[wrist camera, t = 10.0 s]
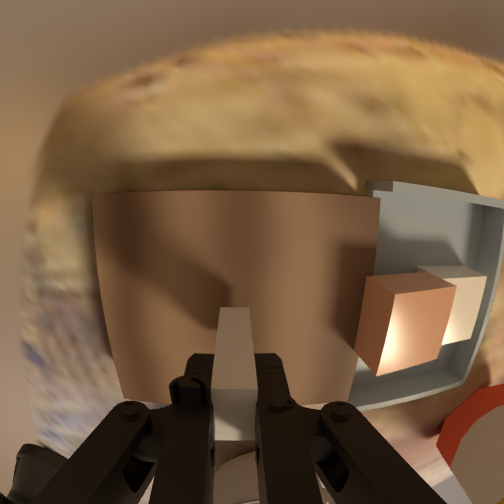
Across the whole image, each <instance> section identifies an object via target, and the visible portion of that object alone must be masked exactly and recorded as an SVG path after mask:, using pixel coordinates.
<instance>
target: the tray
mask: <svg viewBox="0 0 504 504" xmlns="http://www.w3.org/2000/svg"><path fill="white" fill-rule="evenodd" d="M367 196H371V197H378V198H381V201H380V217H379V229H378V240H377V250H376V258H375V267H374V274H373V276H376V275H390V274H404V273H416V268H417V266H441V265H464V266H466V267H468V268H471V269H473V270H475V271H477V272H479V273H481V274H484V275H486V276H487V279H486V283H485V288H484V292H483V296H482V300H481V304H480V308H479V312H478V315H477V319H476V322H475V325H474V329H473V332H472V335H471V338H470V339H466V340H462V341H458V342H453V343H449V344H444V345H441V347H440V351H439V354H438V357H437V359H434V360H431V361H428V362H425V363H422V364H419V365H416V366H412V367H409V368H405V369H402V370H398V371H395V372H391V373H387V374H383V375H379V376H375V375H374V373H373V372H372V371H371V370H370V369H369V368H368V366H367V365H366V364H365V363H364V362H363V361H362V359H361V358H360V357H358V362H357V366H356V370H355V374H354V378H353V382H352V386H351V389H350V393H349V397H348V400H347V401H348V403H350V404H352V405H353V406H355V407H356V408H357V409H358V410H359V411H366V410H371V409H376V408H381V407H386V406H391V405H395V404H399V403H404V402H408V401H412V400H415V399H419V398H423V397H426V396H430V395H433V394H437V393H440V392H443V391H446V390H449V389H452V388H455V387H458V386H461V385H464V384H465V381H466V379H467V377H468V375H469V372H470V370H471V367H472V365H473V362H474V360H475V357H476V355H477V352H478V349H479V347H480V344H481V341H482V338H483V335H484V332H485V329H486V326H487V322H488V319H489V316H490V312H491V309H492V305H493V301H494V297H495V293H496V289H497V285H498V280H499V276H500V271H501V265H502V260H503V254H504V201H503V200H499V199H494V198H490V197H485V196H480V195H476V194H471V193H465V192H460V191H455V190H449V189H443V188H437V187H431V186H425V185H418V184H411V183H404V182H396V181H367Z"/></svg>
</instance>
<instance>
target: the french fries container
mask: <svg viewBox="0 0 504 504" xmlns="http://www.w3.org/2000/svg"><path fill="white" fill-rule="evenodd" d="M436 446H437V448H438V450H439V451H440V453H441V455H442V457H443V458H444V460H445V461H446V463H447V464H448V466H449V467H450V469H451V471H452V472H453V474H454V475H455V477H456V478H457V480H458V481H459V483H460V485H461V486H462V488H463V489H464V491H465V492H466V494H467V496H468V497H469V499H470V501H471V502H472V504H504V384H500V385H495V386H490V387H485V388H480V389H477V390H476V391H475V392H474V393H473V394H472V395H471V396H470V397H469V398H468V399H467V400H466V401H465V402H463V403H462V404H461V405H460V406H459V407H458V408H457V409H456V410H454V411H453V412H452V413H451V414H450V415H448V416H447V417H446V418H445V420H444V423H443V426H442V429H441V432H440V435H439V438H438V441H437V443H436Z"/></svg>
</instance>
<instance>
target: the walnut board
mask: <svg viewBox="0 0 504 504" xmlns="http://www.w3.org/2000/svg"><path fill="white" fill-rule="evenodd" d="M380 201H381V198H378V197H371V196H363V195H352V194H338V193H322V192H303V191H277V190H157V191H133V192H114V193H104V194H96V195H92V206H93V227H94V241H95V252H96V262H97V270H98V278H99V286H100V292H101V299H102V305H103V311H104V316H105V322H106V327H107V332H108V337H109V341H110V346H111V350H112V355H113V359H114V363H115V367H116V371H117V375H118V378H119V382H120V385H121V389H122V392H123V396H124V399H131V400H138V401H145V402H153V403H163V404H172V402H171V397H170V391H169V384H170V383H171V381H172V380H174V379H175V378H177V377H180V376H183V375H184V372H185V368H186V364H187V360H188V358H189V357H190V356H192V355H193V354H194V353H205V354H215V346H216V338H217V329H218V321H219V313H220V307H249V309H250V319H251V329H252V338H253V348H254V353H276V354H277V355H278V356H279V357H280V358H281V359H282V363H283V368H284V371H285V375H286V379H287V383H288V387H289V391H290V395H291V397H292V398H293V399H294V400H295V401H296V403H297V404H298V405H308V404H319V403H328V402H334V401H344V400H348V397H349V393H350V389H351V386H352V382H353V378H354V374H355V370H356V366H357V362H358V357H359V356H358V355H357V354H356V353H355V351H354V346H355V341H356V336H357V331H358V325H359V320H360V314H361V308H362V302H363V295H364V288H365V281H366V276H373V274H374V267H375V258H376V250H377V240H378V229H379V217H380Z"/></svg>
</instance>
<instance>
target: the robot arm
mask: <svg viewBox="0 0 504 504" xmlns="http://www.w3.org/2000/svg"><path fill="white" fill-rule="evenodd" d="M169 391H170V397H171V402H172V404H171V405H170V406H167V407H164V408H160V409H152V410H149V409H148V408H147V407H146V405H145V404H143V403H141V402H138V401H124V402H122V403H119V404H117V405H116V406H115V407H114V408H113V409H112V410H111V411H110V412H109V413H108V415H107V416H106V417H105V418H104V419H103V420H102V421H101V423H100V424H99V425H98V426H97V427H96V428H95V429H94V431H93V432H92V433H91V434H90V435H89V436H88V437H87V439H86V440H85V441H84V442H83V443H82V444H81V445H80V447H79V448H78V449H77V450H76V451H75V452H74V453H73V455H72V456H71V457H70V458H69V459H68V460H66V459H64V458H62V457H61V456H59V455H57V454H55V453H53V452H51V451H49V450H47V449H45V448H42V447H40V446H37V445H34V444H24V445H23V446H22V447H21V449H20V450H19V452H18V454H17V456H16V465H15V470H14V477H13V485H12V488H11V490H10V492H9V494H8V496H7V497H5V496H4V495H3V494H2V493H1V492H0V504H138V503H139V501H140V499H141V498H142V496H143V494H144V493H145V491H146V489H147V487H148V486H149V484H150V482H151V481H152V479H153V477H154V481H153V486H152V490H151V495H150V500H149V504H213V491H214V468H215V440H234V441H242V440H255V439H256V449H255V462H256V465H257V478H258V490H259V502H260V504H323V500H322V496H321V492H320V488H319V485H318V481H317V477H316V473H317V475H318V477H319V478H320V480H321V481H322V483H323V484H324V486H325V488H326V489H327V491H328V492H329V494H330V495H331V497H332V498H333V500H334V501H335V503H336V504H447V503H446V502H445V501H444V500H443V499H442V498H441V497H440V496H439V495H438V494H437V493H436V492H435V491H434V490H433V489H432V488H431V487H430V486H429V485H428V484H427V483H426V482H425V481H424V480H423V479H422V478H421V477H420V475H419V474H418V473H417V472H416V471H415V470H414V469H413V468H412V467H411V466H410V465H409V464H408V463H407V462H406V461H405V460H404V459H403V458H402V457H401V456H400V454H399V453H398V452H397V451H396V450H395V449H394V448H393V447H392V446H391V445H390V444H389V443H388V442H387V441H386V440H385V438H384V437H383V436H382V435H381V434H380V433H379V432H378V431H377V430H376V429H375V428H374V427H373V425H372V424H371V423H370V422H369V421H368V420H367V419H366V418H365V417H364V416H363V415H362V413H361V412H360V411H359V410H358V409H357V408H356V407H355V406H353V405H352V404H350V403H347V402H343V401H334V402H330V403H328V404H326V405H324V407H323V408H322V409H321V410H317V409H310V408H305V407H302V406H300V405H298V404H297V403H296V401H295V400H294V399H293V398H292V397H291V395H290V391H289V387H288V383H287V379H286V375H285V371H284V368H283V363H282V359H281V358H280V357H279V356H278V355H277V354H276V353H254V348H253V338H252V329H251V319H250V309H249V307H220V313H219V321H218V329H217V338H216V346H215V354H205V353H194V354H193V355H192V356H190V357H189V358H188V360H187V364H186V368H185V372H184V375H183V376H180V377H177V378H175V379H174V380H172V381H171V383H170V384H169ZM315 472H316V473H315ZM154 475H155V476H154Z"/></svg>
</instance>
